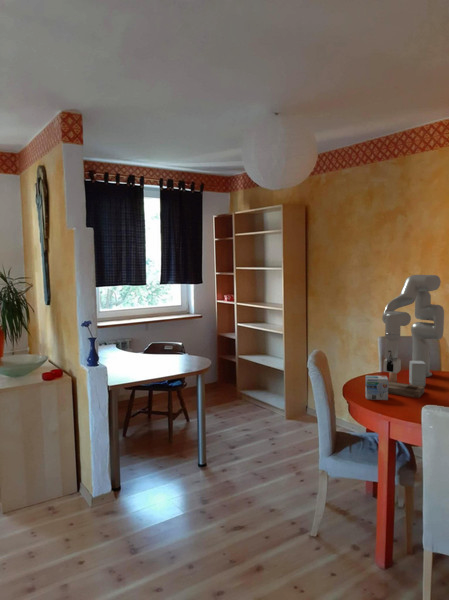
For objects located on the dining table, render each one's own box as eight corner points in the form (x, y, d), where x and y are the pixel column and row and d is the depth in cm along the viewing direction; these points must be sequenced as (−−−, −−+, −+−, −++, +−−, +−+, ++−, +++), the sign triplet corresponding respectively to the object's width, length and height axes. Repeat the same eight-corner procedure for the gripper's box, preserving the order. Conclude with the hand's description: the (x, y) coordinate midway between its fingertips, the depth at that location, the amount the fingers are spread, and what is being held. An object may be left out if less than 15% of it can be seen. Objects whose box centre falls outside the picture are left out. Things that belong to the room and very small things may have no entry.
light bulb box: (366, 399, 231) (366, 378, 230) (364, 395, 238) (364, 375, 237) (388, 400, 229) (389, 379, 228) (386, 396, 236) (386, 375, 235)
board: (385, 386, 253) (385, 381, 252) (424, 392, 241) (424, 386, 241) (378, 391, 243) (379, 386, 243) (419, 398, 231) (419, 392, 231)
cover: (387, 368, 248) (387, 357, 248) (400, 370, 244) (400, 359, 244) (383, 371, 243) (383, 360, 242) (397, 373, 239) (397, 361, 238)
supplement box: (425, 386, 251) (426, 363, 250) (411, 385, 253) (411, 363, 251) (422, 382, 258) (423, 360, 257) (408, 382, 260) (409, 360, 258)
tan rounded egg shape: (390, 381, 262) (390, 369, 261) (397, 382, 260) (397, 370, 259) (388, 383, 259) (388, 371, 258) (395, 384, 256) (395, 371, 256)
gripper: (390, 333, 251) (389, 365, 253) (380, 338, 237) (379, 372, 239) (404, 334, 247) (403, 367, 248) (395, 339, 233) (394, 374, 234)
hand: (392, 369), depth 244 cm, fingers closed on cover, 7 cm apart
